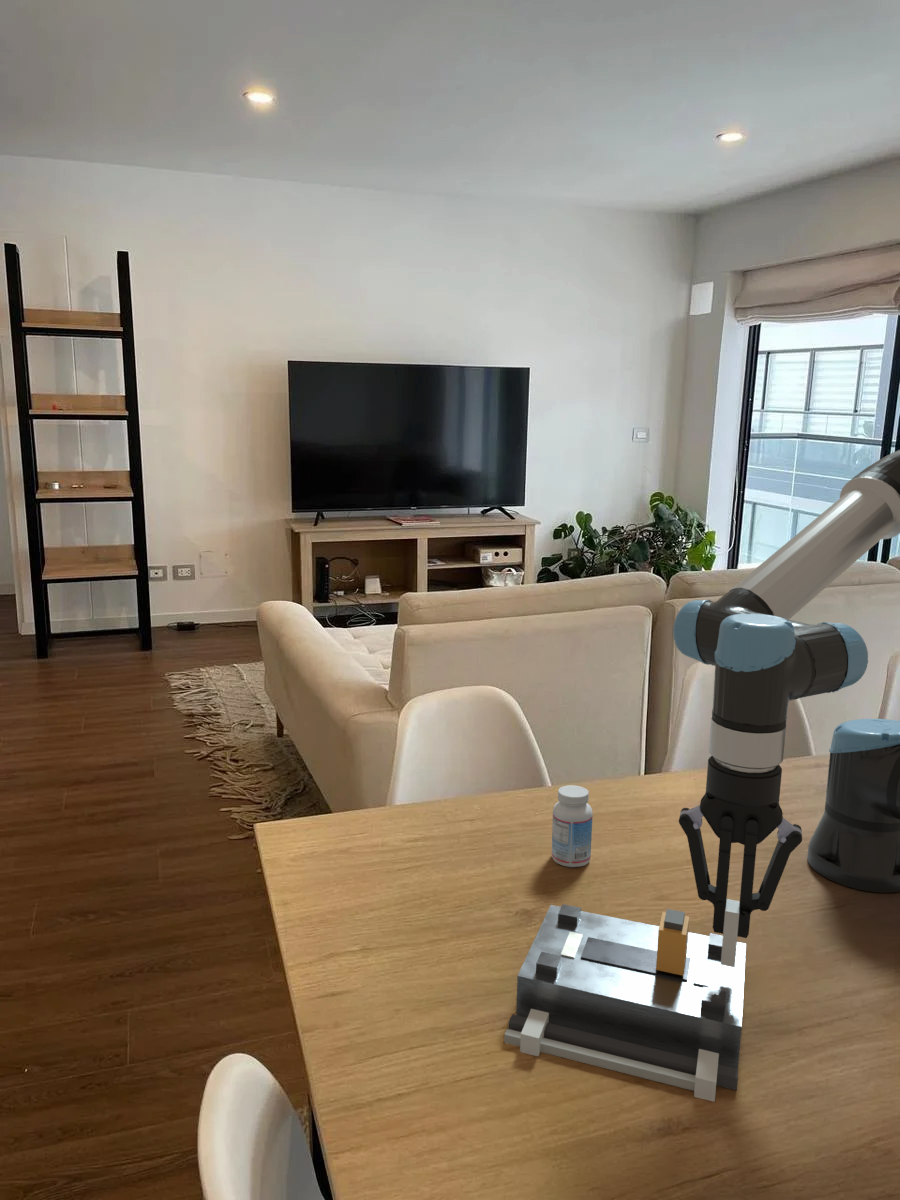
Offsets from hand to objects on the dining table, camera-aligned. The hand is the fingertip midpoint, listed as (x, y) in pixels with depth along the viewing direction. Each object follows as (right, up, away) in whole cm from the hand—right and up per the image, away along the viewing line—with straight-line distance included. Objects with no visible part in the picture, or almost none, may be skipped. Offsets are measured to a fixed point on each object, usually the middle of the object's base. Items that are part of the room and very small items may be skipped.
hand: (728, 958), depth 99 cm
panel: (-10, -7, +5) cm, 13 cm away
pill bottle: (-12, 0, +38) cm, 40 cm away
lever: (-6, -1, +2) cm, 6 cm away
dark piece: (-10, -7, +5) cm, 13 cm away
